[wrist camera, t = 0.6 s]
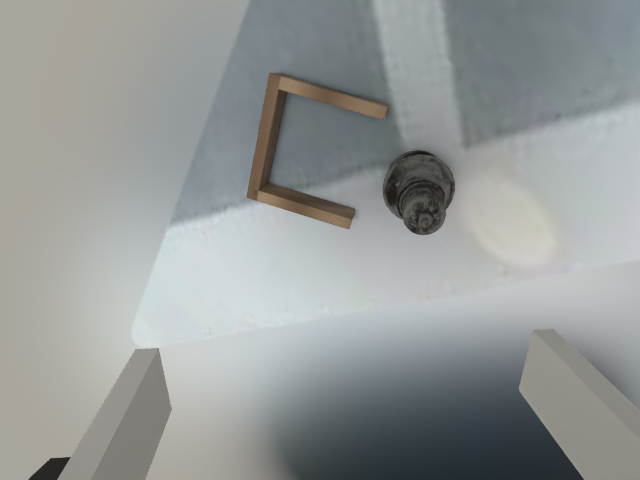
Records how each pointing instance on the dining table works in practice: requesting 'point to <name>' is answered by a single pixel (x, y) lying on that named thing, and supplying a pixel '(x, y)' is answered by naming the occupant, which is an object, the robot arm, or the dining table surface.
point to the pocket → (268, 139)
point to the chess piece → (419, 191)
